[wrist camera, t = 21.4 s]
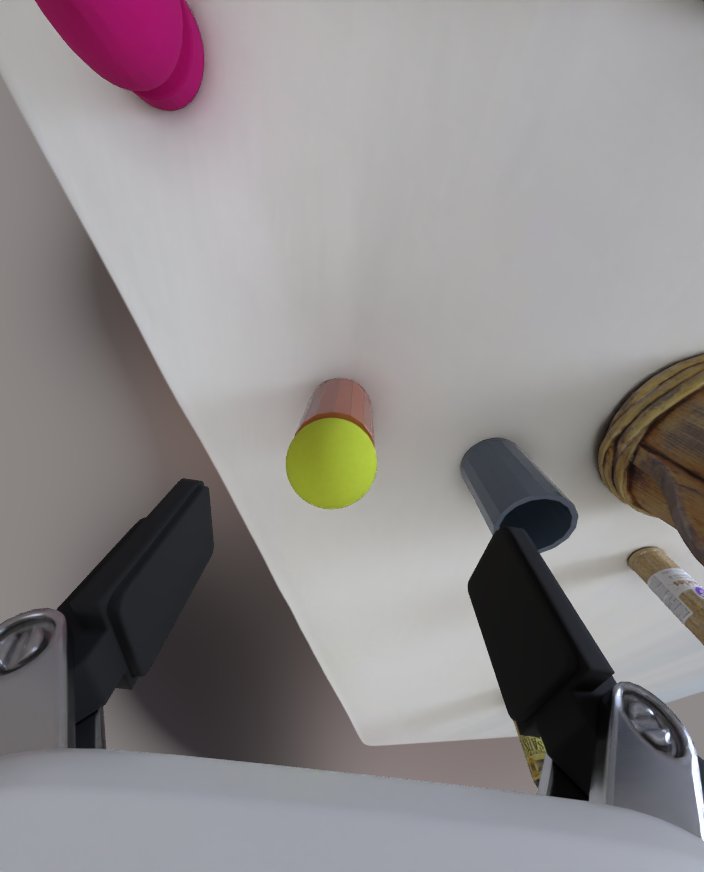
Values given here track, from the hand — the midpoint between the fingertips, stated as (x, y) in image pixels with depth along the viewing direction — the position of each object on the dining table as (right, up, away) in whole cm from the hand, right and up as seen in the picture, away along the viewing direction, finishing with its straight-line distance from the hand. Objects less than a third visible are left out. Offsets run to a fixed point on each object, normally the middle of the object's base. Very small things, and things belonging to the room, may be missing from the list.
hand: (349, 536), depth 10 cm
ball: (-1, +1, +13) cm, 13 cm away
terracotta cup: (-1, +6, +23) cm, 23 cm away
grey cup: (+16, 0, +25) cm, 30 cm away
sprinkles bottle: (+41, -13, +32) cm, 53 cm away
